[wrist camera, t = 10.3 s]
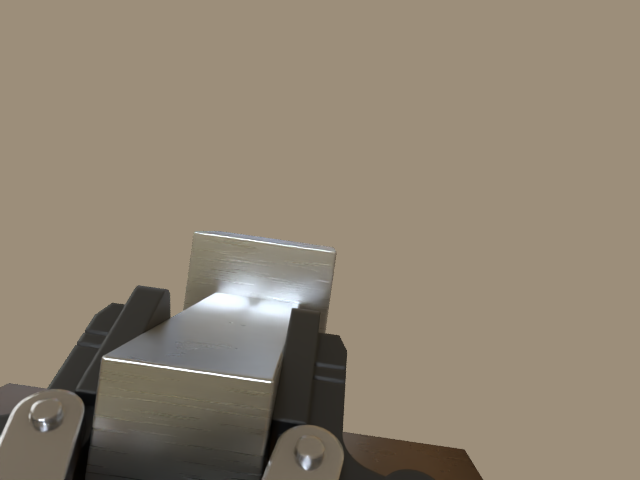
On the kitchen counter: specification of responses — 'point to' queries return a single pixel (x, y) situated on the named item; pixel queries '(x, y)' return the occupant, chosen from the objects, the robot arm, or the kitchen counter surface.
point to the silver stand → (208, 365)
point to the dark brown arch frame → (349, 448)
